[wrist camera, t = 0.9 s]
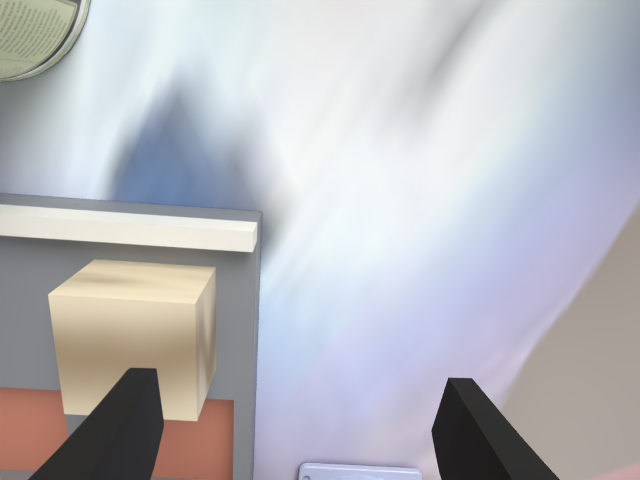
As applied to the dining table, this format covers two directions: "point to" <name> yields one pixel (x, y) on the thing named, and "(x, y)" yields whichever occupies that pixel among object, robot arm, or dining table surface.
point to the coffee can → (37, 34)
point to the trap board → (135, 246)
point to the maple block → (136, 332)
